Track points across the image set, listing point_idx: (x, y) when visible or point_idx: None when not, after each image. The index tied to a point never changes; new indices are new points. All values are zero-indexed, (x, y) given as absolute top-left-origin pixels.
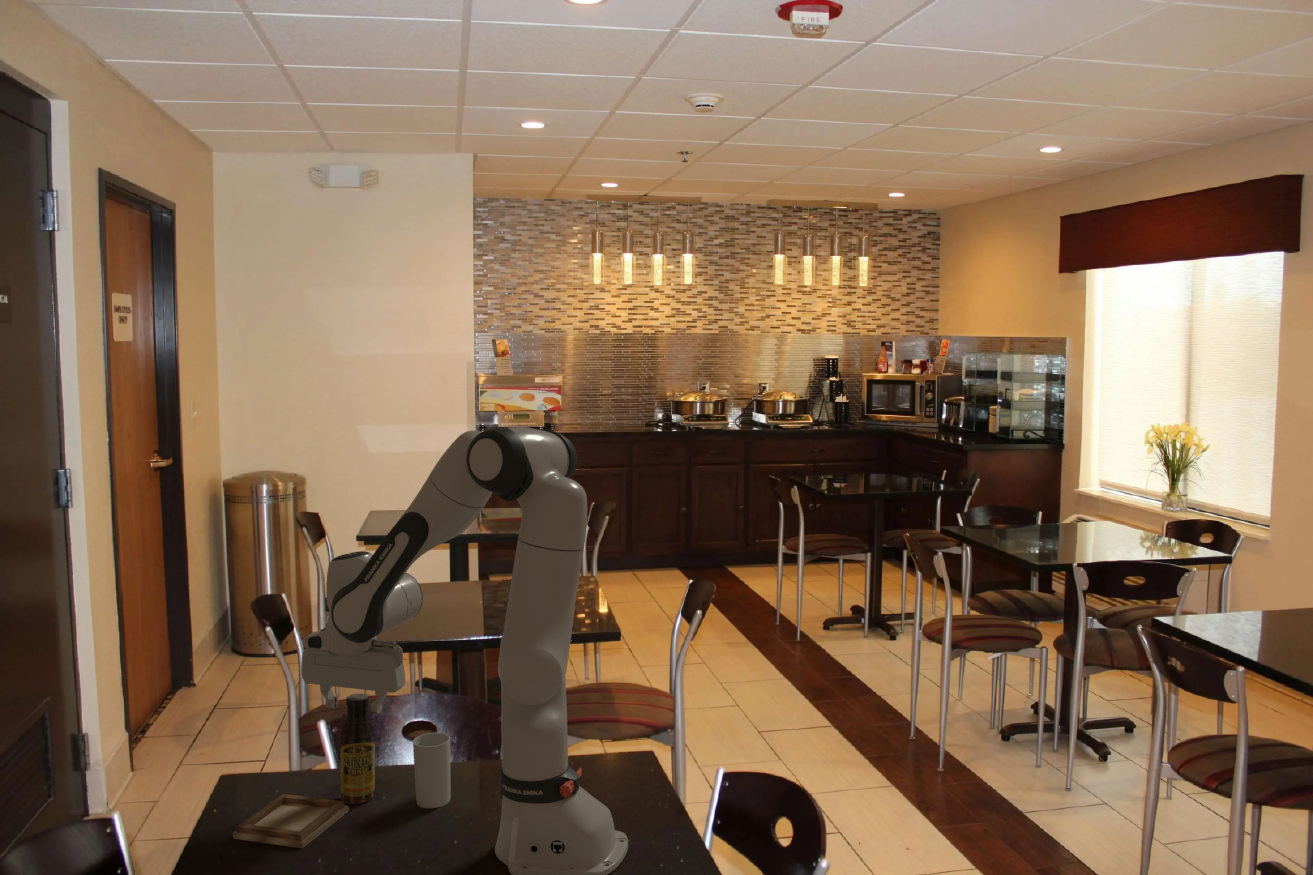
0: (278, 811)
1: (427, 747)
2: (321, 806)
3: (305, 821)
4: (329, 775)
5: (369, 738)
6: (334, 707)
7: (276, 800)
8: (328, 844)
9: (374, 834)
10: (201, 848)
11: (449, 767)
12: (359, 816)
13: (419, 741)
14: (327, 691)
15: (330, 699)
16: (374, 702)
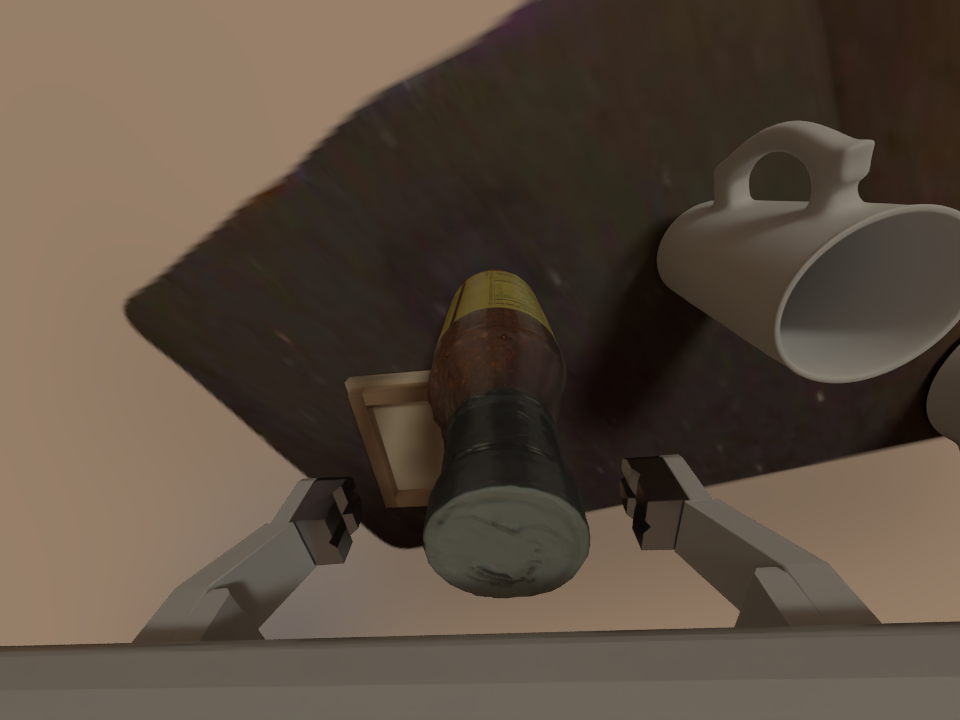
0: (391, 430)
1: (866, 377)
2: None
3: None
4: (319, 216)
5: (563, 392)
6: (359, 501)
7: (362, 420)
8: None
9: (627, 421)
10: (371, 524)
11: (845, 253)
12: None
13: (773, 283)
14: (256, 600)
15: (323, 560)
16: (655, 522)
